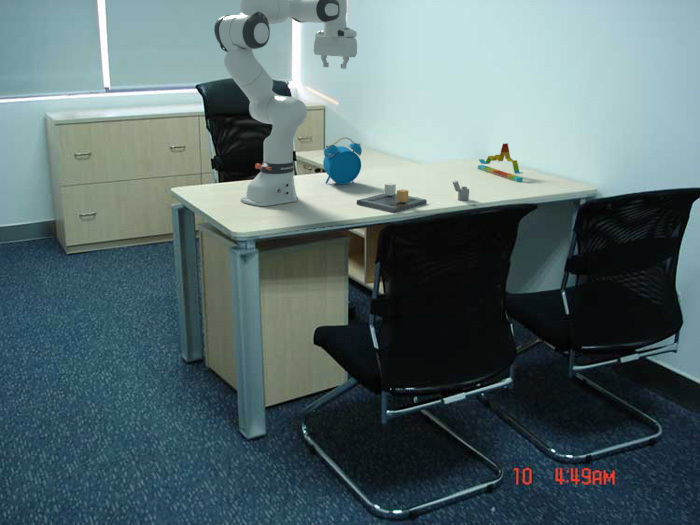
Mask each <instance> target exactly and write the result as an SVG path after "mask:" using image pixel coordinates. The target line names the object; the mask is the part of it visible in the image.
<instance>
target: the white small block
mask: <svg viewBox="0 0 700 525" xmlns="http://www.w3.org/2000/svg"><path fill="white" fill-rule="evenodd" d="M396 186H397V185H396V183H391V182H390V183H384V193H383V194H385V195H389V196H391V195H395V193H396V191H397V190H396Z"/></svg>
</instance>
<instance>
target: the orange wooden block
mask: <svg viewBox="0 0 700 525" xmlns="http://www.w3.org/2000/svg"><path fill="white" fill-rule="evenodd" d="M396 193H397V201H399V202H406V201H408V196H409V190H407V189H399V190H396Z"/></svg>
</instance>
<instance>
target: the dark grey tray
mask: <svg viewBox="0 0 700 525" xmlns="http://www.w3.org/2000/svg"><path fill="white" fill-rule="evenodd" d="M425 204H427V199H424V198H419V197H415V196H414V197H413V196H411V195H408V201H406V202H399V201H397V192H395V195H391V196H389V195H385V194H384V193H380V194H377V195H376V194H375V195H373V196H368V197H365V198H361V199H356V205H359V206H363V207H367V208H372V209H376V210H380V211H384V212H387V213H388V212H389V213H395V214H396V213H399V212H403V211H405V210H409V209H413V208H416V207H418V206H419V207H420V206H423V205H425Z"/></svg>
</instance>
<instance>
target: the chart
mask: <svg viewBox="0 0 700 525" xmlns="http://www.w3.org/2000/svg"><path fill="white" fill-rule="evenodd" d="M504 159H505V160H506V161H507V162H512V169H513V172H514V174H515V175H514V174H512V173H508V172H505V171H502V170H500V169H496V168H493V167H490V166H487V164H488V165H489V164H491V162H494V161H497V162H503V161H504ZM478 161H479V162H480V165H477V170H479V171H483V172H486V173H488V174H491V175H494V176H498V177H501V178H504V179H506V180H510V181H513V182H516V183H522V182H523V180H524V178H523V177H521V176H518V175H519V174H524V172H522V171H520V168H519V163H518V160H513V158H511V154H510V148H509V144H508V143H502V146H501V149H500V153H499V154H494V155H488V156H487V158H486V160H485V159H483V158H481V159H480V158H479V159H478ZM516 174H518V175H516Z"/></svg>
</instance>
